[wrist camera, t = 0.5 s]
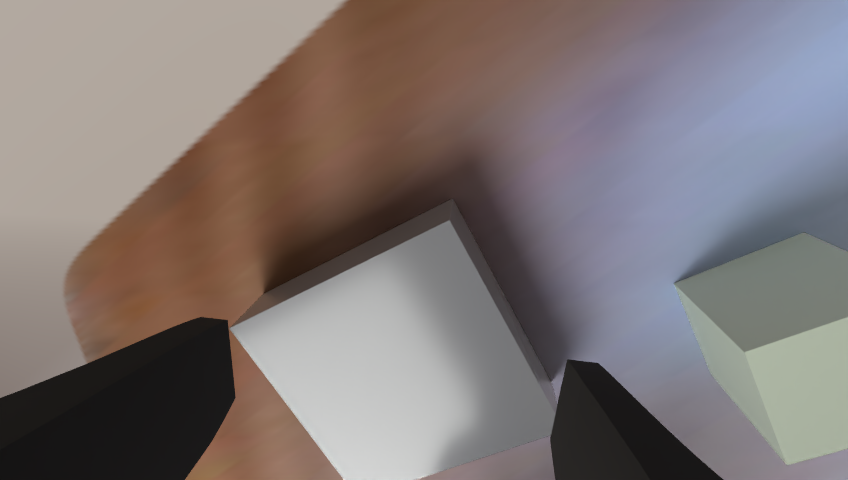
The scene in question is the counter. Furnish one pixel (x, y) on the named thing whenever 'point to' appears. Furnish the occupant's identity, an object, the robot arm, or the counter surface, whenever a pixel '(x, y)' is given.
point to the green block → (779, 341)
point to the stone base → (402, 354)
